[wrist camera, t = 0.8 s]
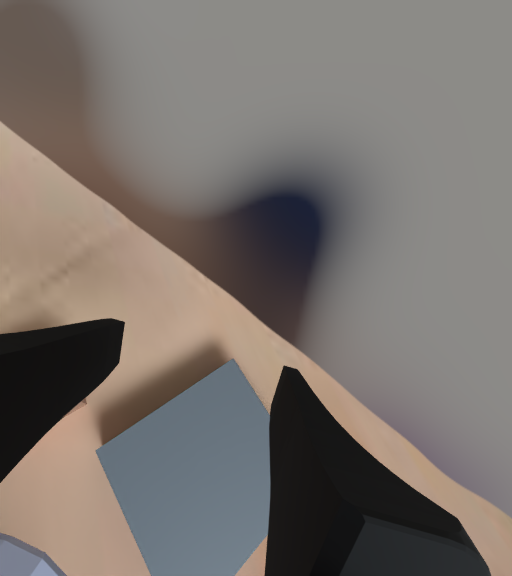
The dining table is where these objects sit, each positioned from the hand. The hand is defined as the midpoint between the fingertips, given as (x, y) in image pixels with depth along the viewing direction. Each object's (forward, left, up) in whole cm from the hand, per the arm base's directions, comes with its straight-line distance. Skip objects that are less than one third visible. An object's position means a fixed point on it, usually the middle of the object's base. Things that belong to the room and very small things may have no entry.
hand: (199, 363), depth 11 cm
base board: (0, -6, -15) cm, 16 cm away
